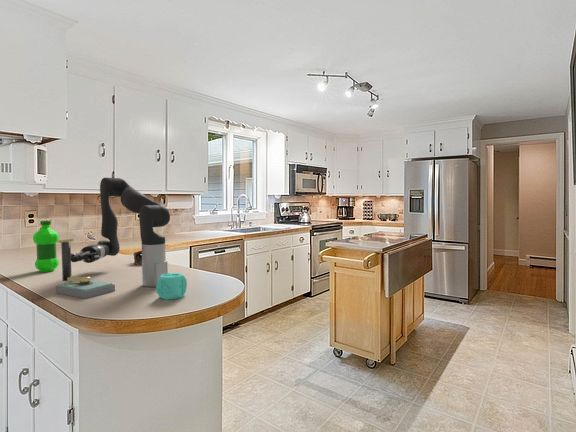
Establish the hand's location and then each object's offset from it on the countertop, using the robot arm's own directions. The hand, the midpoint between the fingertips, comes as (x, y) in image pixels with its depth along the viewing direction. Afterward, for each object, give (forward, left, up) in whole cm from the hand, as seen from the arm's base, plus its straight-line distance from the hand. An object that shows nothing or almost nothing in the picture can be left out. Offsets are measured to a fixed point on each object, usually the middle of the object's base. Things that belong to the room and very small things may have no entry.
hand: (73, 259), depth 141 cm
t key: (-8, +4, -7) cm, 12 cm away
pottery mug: (+17, -48, -11) cm, 52 cm away
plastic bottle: (+43, -13, -11) cm, 46 cm away
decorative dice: (-47, -7, -11) cm, 49 cm away
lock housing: (-12, +3, -11) cm, 17 cm away
